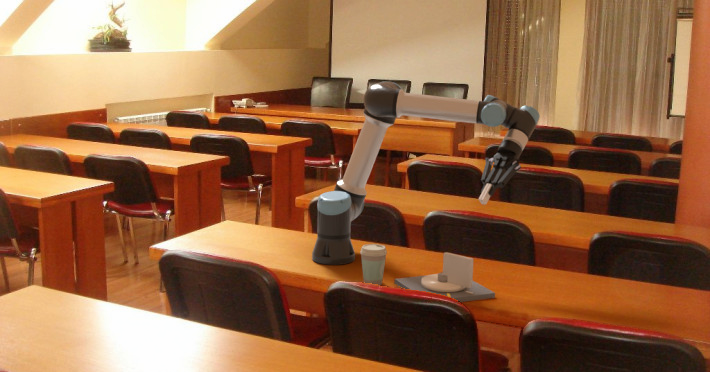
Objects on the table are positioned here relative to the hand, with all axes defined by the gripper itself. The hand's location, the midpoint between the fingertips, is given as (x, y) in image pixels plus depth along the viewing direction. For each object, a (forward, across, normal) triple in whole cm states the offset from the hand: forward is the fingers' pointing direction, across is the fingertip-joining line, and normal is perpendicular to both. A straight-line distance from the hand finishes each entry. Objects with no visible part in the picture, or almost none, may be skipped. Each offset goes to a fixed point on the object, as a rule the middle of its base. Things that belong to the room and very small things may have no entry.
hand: (482, 201), depth 254 cm
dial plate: (+31, +1, -6) cm, 31 cm away
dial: (+30, 0, -5) cm, 30 cm away
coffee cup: (+38, +22, +1) cm, 44 cm away
